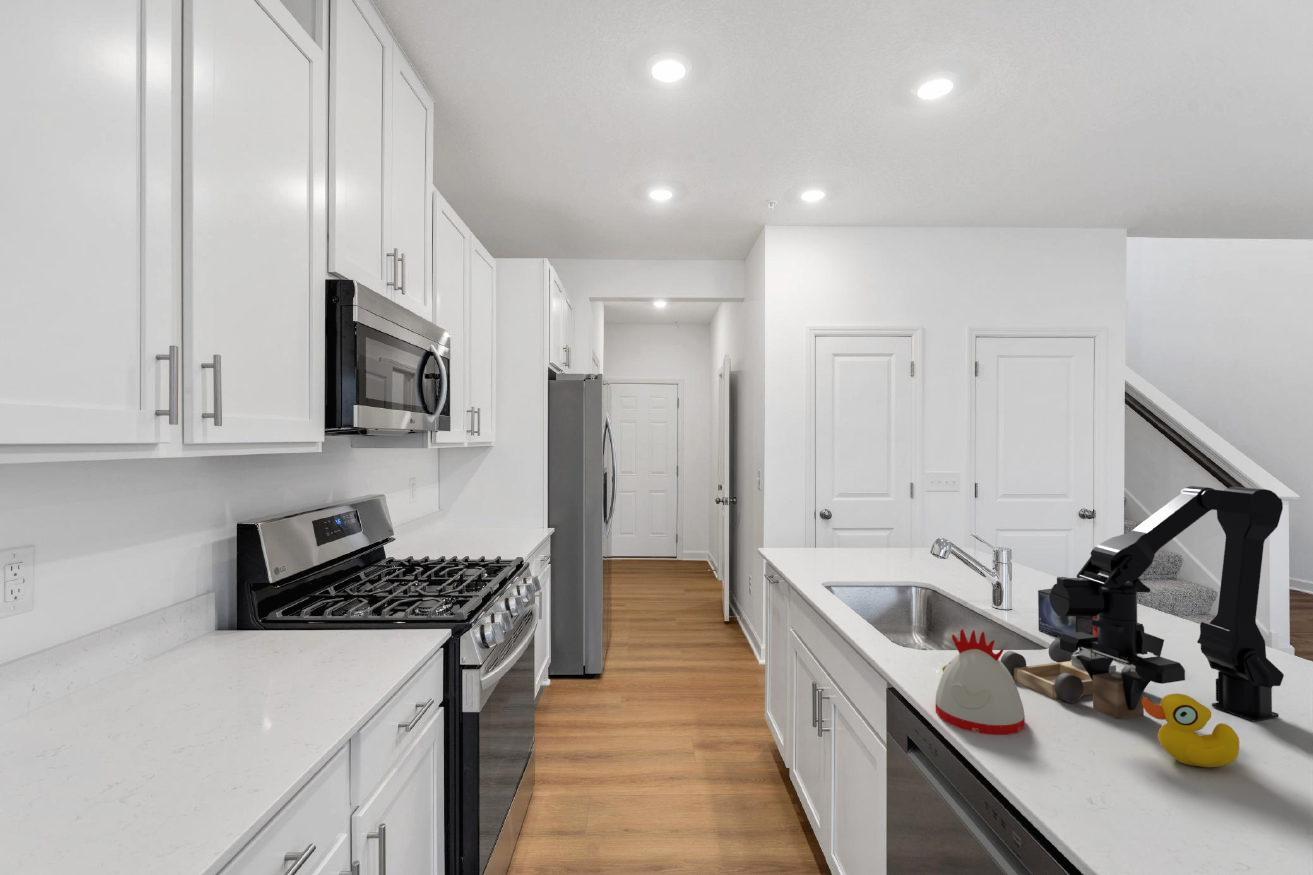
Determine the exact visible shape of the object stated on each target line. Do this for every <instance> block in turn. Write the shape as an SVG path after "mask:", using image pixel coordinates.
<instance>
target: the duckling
mask: <svg viewBox="0 0 1313 875" xmlns="http://www.w3.org/2000/svg"><path fill="white" fill-rule="evenodd" d="M1142 705H1143V707H1144V710H1145V712H1146V713H1147V715H1149V716H1151V717H1152V718H1155V719H1157V720H1161V721H1162V720H1163V721H1166V723H1165V724H1163V725H1162V726H1160V728H1159V729H1158V732H1157V739H1158V741H1159V744H1160V746H1161V747H1162V748H1163V749H1164V750H1165V751H1166V752H1167V753H1168V754H1169V755H1170V756H1171V757H1172V758H1173V759H1174V760H1176V761H1177V762H1179V763H1181V764H1184V765H1186V766H1187V765H1188V766H1194V767H1202V768H1216V767H1222V766H1227V765H1230V764H1232V763H1233V762H1235V761H1236V759H1238V756H1239V751H1240V738H1239V736H1238V734H1237V733H1236V731H1235V730H1234V729H1233V728H1232V727H1231V726H1230V725H1228V724H1226V723H1218V724H1216V725H1215V726H1214V728H1213V730H1212V733H1211V734H1209V733H1208V734H1204V735H1199V734H1198V733H1197V732H1198V731H1201V730H1202V729H1204V727H1205V726H1207V723H1208V722H1209V721H1210V719H1211V718H1212V711H1211V710H1210V708H1208V707H1207V706H1205V705H1204V704H1202V703H1200V702H1199V701H1197V700H1196V699H1194V698H1193V697H1191V696H1189V695H1186V694H1183V693H1171V694H1167V695H1165V696H1163V697H1162V698H1161V700H1160V703H1159V704H1156V703H1154V702H1152V701H1150V700H1149V699H1148V697H1146V696H1143V699H1142Z"/></svg>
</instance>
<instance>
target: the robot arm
mask: <svg viewBox="0 0 1313 875" xmlns="http://www.w3.org/2000/svg"><path fill="white" fill-rule="evenodd" d="M1283 505H1284V504H1283V501H1282V498H1280V497H1279V496H1278V495H1277V493H1276V492H1273V491H1272V490H1270V489H1264V488H1254V487H1252V488H1251V487H1240V486H1230V487H1227V488H1224V490H1223V489H1222V490H1221V489H1220V490H1219V489H1214V488H1213V487H1209V486H1196V485H1190V486H1187V487H1184V488H1181V490H1180V491H1179V494H1178V495H1176V496H1175V497H1174V498H1173V499H1171V500H1170V501H1168V503H1166V504H1165V505H1164V506H1162V507H1161V508H1160V509H1158V510H1157V511H1155V512H1154V513H1152V515H1150V516H1149V517H1147V518H1146V519H1145V520H1144V521H1143V522H1141V523H1139V525H1137V526H1136V527H1135V528H1133V529H1132V530H1131V531H1128V532H1126V533H1123V534H1120V535H1116V536H1113V537H1111V538H1108V539H1107V540H1105V541H1102V542H1101V543H1099V544H1097V545H1095V547H1093V548H1092V550H1091V552H1090V557H1089V558H1088V560H1087V561H1086V562H1085V564H1084V565H1083V566H1082V567H1081V569H1080V570H1079V571H1078V572H1077V574H1076V577H1065V576H1058V577H1056V583H1055V584H1053V586H1052V587H1051V588H1050V589H1051V593H1049V598H1050V604H1051V606H1052V609H1053V610H1054V612H1055V613H1056V614H1057V615H1058V616H1097V615H1098V619H1092V625H1094V626H1097V627H1098V637H1096V636H1093V635H1090V634H1087V633H1083V632H1075V633H1066V634H1063V635H1062V636H1061V638H1060V637H1059V638H1058V639H1059V643H1060V649H1062V650H1065V651H1068V652H1071V653H1075V652H1076V651H1079V655H1077V656H1076V659H1078V660H1080V661H1081V663H1082V664H1083V666H1084V668H1085V669H1086V671H1087V672H1088V674H1089V676H1090V677H1091V679H1092V681H1093V675H1097V674H1104V673H1109V667H1110V665H1111V664H1113V661H1117V662H1119V663H1122V664H1125V665H1127V664H1128V665H1131V671H1130V672H1123V673H1122V680H1123V686H1124V692H1125V698H1126V703H1127V706H1128V709H1129V710H1135V708H1136V706H1137V704H1138V702H1139V700H1140V698H1141V696H1142V694H1143V695H1144V691H1145V689H1146V688H1147V686H1148V685H1149V683H1151V682H1153V683H1155V684H1162V685H1163V684H1169V683H1175V682H1183V681H1186V670H1185V667H1184V666H1183V665H1182V663H1180V662H1178V661H1175V660H1172V659H1169V658H1166V657H1163V656H1161V655H1162V651H1163V647H1164V643H1165V639H1164V638H1160V637H1158V636H1155V635H1152V634H1150V633H1147V632H1145V626H1144V624H1143V623H1139V622H1138V593H1150V592H1151V588H1149V587H1148V586H1147V585H1145V584H1144V583H1143V582H1142V581H1141V579H1140V578H1141V577H1142V575H1143V574H1145V572H1146V571H1147V570H1148V569H1149V568H1150V567H1151V565H1152V564H1153V561H1154V558H1155V554H1156V553H1158V552H1159V550H1160V549H1162V548H1163V547H1164V546H1166V545H1167V544H1168V543H1170V542H1171V541H1172V540H1174V539H1175V538H1176V537H1177V536H1178V535H1180V534H1182V533H1183V532H1184V531H1185V530H1186V529H1189V527H1191V525H1193V524H1194V523H1196V522H1197V521H1198V520H1200V518H1202V517H1203V516H1205V515H1207V513H1209V512H1210V511H1216V518H1217V521H1218V523H1219V524H1220V526H1221V528H1222V531H1223V532H1224V534H1225V542H1224V552H1223V560H1222V562H1223V563H1222V570H1221V581H1220V588H1219V589H1220V591H1219V598H1218V608H1217V613H1216V615H1215V616H1214V618H1212V619H1211V620H1210V621H1209V622H1207V621H1201V622H1200V624H1199V628H1200V630H1199V631H1200V632H1199V633H1200V634H1199V637H1198V640H1197V643H1198V644H1200V651H1201V653H1202V654H1203V655H1204V656H1205V658H1206V659H1207V662H1208V663H1209V666H1210V668H1211V669H1212V670H1215V671H1217V672H1218V673H1217V676H1218V677H1217V678H1216V679H1215V701H1216V702H1213V703H1212V705H1211V706H1212V707H1213V708H1216V709H1219V710H1221V711H1224V712H1227V713H1228V714H1229V713H1230V714H1232V715H1235V716H1238V717H1240V718H1243V719H1247V720H1250V721H1253V722H1257V721H1262V720H1268V719H1274V718H1278V717H1279V713H1278V712H1275V711H1273V694H1272V693H1273V691H1272V690H1273V687H1280V686H1281V684H1282V683H1283V679H1284V676H1285V674H1284V673H1283V672H1282V671H1281V670H1280V669H1279V668H1278V667H1277V666H1275V665H1274V664H1273V663H1272V662H1271V660H1269V659H1268V658H1267V648H1266V640H1265V639H1264V637H1263V635H1262V633H1261V630H1260V628H1259V627H1258V625H1257V622H1256V619H1257V611H1258V601H1259V593H1260V592H1259V591H1260V583H1261V573H1262V566H1263V557H1264V556H1263V555H1264V547H1265V546H1264V545H1265V541H1266V539H1268V537H1269V536H1270V535H1271V534H1273V533H1274V531H1275V530H1276V529H1277V528H1278V527H1279V523H1280V519H1281V516H1282V513H1283V508H1284V506H1283ZM1148 653H1150V654H1153V656H1150V657H1141V656H1138V655H1142V656H1143V655H1148ZM1123 657H1124V658H1123Z"/></svg>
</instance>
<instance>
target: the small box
mask: <svg viewBox="0 0 1313 875" xmlns="http://www.w3.org/2000/svg"><path fill="white" fill-rule="evenodd" d="M1051 589H1052V588H1045V589H1038V590H1037V596H1038V597H1037V606H1038V608H1037V610H1038V613H1037V614H1038V615H1037V616H1038V617H1037V618H1038V631H1040V632H1043V633H1046V634H1048V635H1052V636H1055V637H1057V638H1059V639H1060V638H1061V636H1062V635H1063V634H1066V633H1075V632H1083V633H1087V634H1090V635H1093V625H1092V619H1093V616H1058V615H1057V614H1056V613H1055V612H1054V610H1053V609H1052V606H1051V604H1050V598H1049V593H1051Z"/></svg>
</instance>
